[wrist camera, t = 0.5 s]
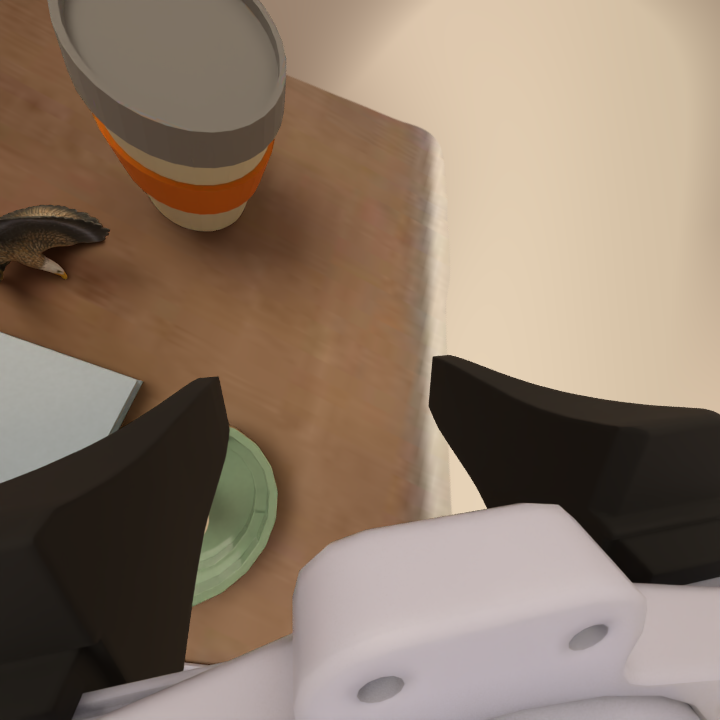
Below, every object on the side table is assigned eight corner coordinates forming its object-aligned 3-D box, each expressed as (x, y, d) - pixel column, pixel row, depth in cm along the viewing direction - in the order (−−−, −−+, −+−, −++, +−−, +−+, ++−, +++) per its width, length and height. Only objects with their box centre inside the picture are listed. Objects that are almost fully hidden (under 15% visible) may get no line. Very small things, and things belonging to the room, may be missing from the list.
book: (41, 579, 26) (25, 594, 24) (-153, 546, 22) (-190, 560, 20) (143, 381, 30) (137, 380, 28) (-8, 329, 26) (-28, 322, 24)
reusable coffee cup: (289, 211, 36) (329, 93, 23) (186, 273, 32) (157, 173, 18) (209, 108, 35) (200, -90, 21) (88, 158, 30) (-28, -52, 16)
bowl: (235, 598, 30) (236, 625, 26) (58, 565, 26) (30, 592, 22) (292, 445, 34) (301, 451, 30) (144, 395, 29) (133, 394, 26)
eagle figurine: (47, 330, 27) (136, 253, 28) (-76, 276, 20) (49, 179, 21) (13, 281, 29) (96, 213, 31) (-104, 220, 23) (8, 137, 24)
